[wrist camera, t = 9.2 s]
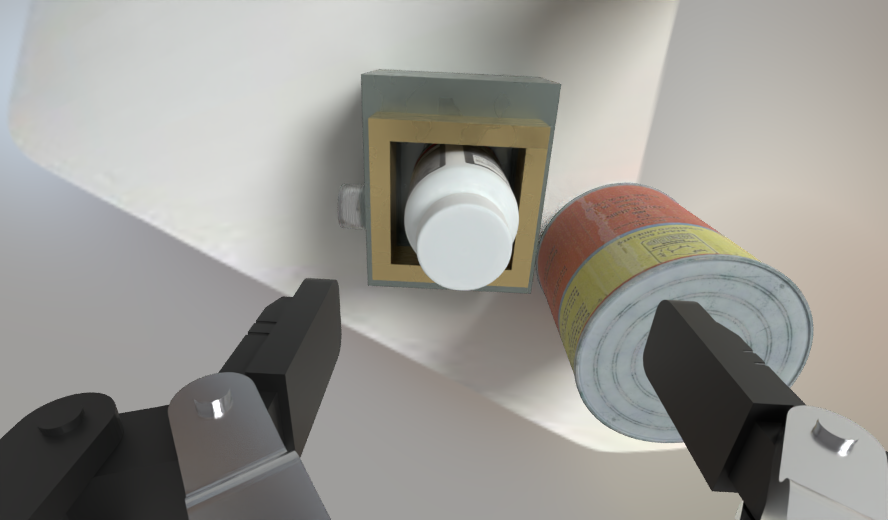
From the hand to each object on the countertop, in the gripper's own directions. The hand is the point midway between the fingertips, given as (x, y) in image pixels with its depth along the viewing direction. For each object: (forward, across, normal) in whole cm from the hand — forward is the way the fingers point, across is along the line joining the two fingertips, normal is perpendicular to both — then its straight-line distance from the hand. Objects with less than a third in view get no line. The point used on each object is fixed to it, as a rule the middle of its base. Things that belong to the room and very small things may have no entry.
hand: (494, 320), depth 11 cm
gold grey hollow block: (+20, +1, +1) cm, 20 cm away
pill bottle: (+17, +1, +1) cm, 17 cm away
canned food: (+21, -11, +7) cm, 25 cm away
